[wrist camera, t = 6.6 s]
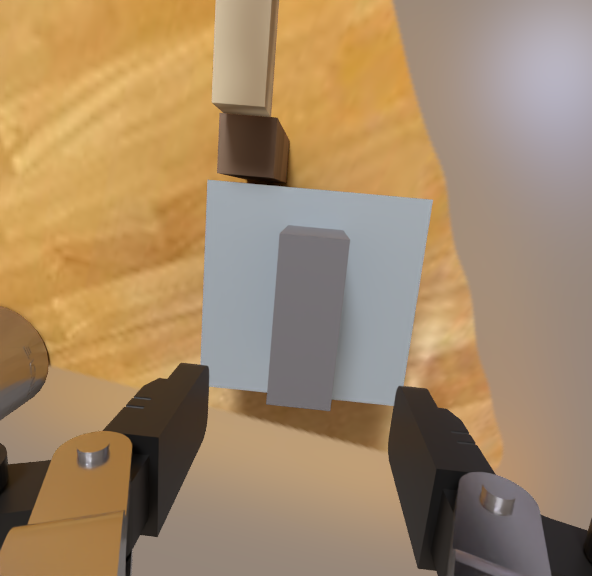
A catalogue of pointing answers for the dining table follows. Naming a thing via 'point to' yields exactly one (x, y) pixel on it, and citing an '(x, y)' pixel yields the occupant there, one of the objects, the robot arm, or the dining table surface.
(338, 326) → the lid
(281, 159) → the toolbox
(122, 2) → the dining table surface
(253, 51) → the wooden key
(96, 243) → the dining table surface
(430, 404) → the robot arm
